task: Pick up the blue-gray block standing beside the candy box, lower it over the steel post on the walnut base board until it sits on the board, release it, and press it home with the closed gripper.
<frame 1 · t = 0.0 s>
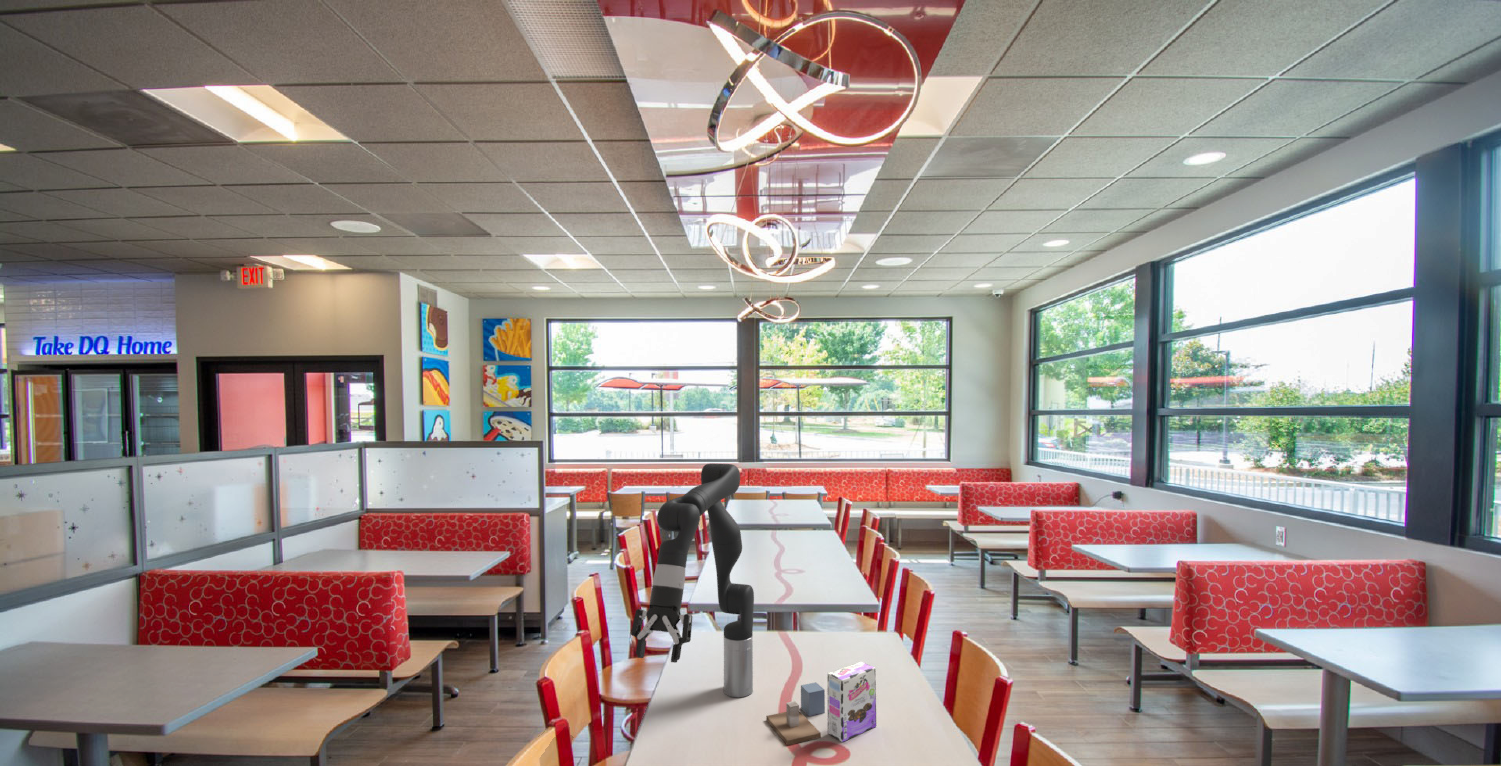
hand: (656, 660, 136), 31 cm above the table, tool tilted 20°, fingers open, 8 cm apart
post stand: (792, 728, 166), on the table
blue-gray block: (812, 710, 176), on the table
candy box: (852, 730, 165), on the table
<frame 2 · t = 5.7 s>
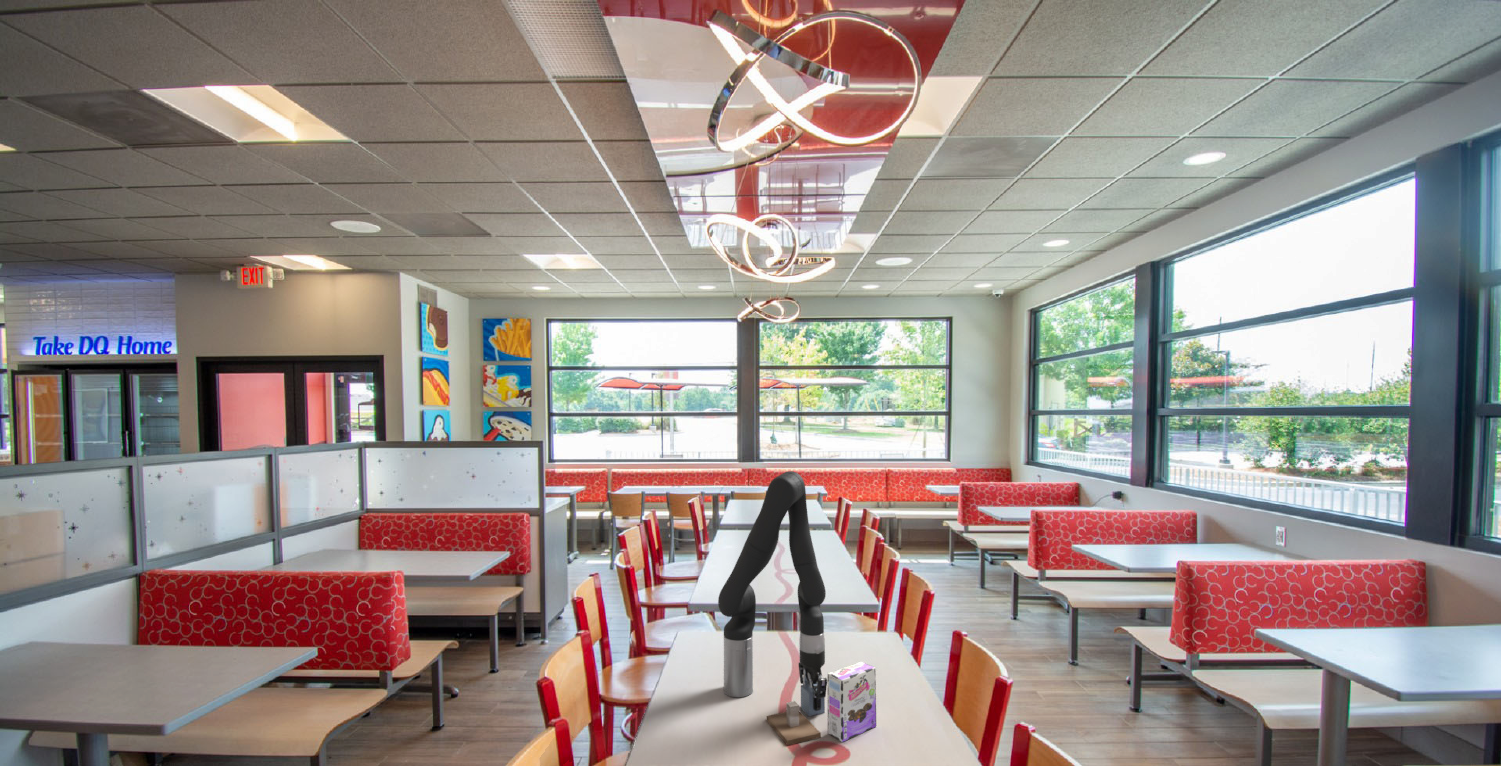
hand: (812, 705, 176), 1 cm above the table, tool pointing down, fingers closed on blue-gray block, 5 cm apart
blue-gray block: (812, 710, 176), on the table, touching gripper
everything else where it was.
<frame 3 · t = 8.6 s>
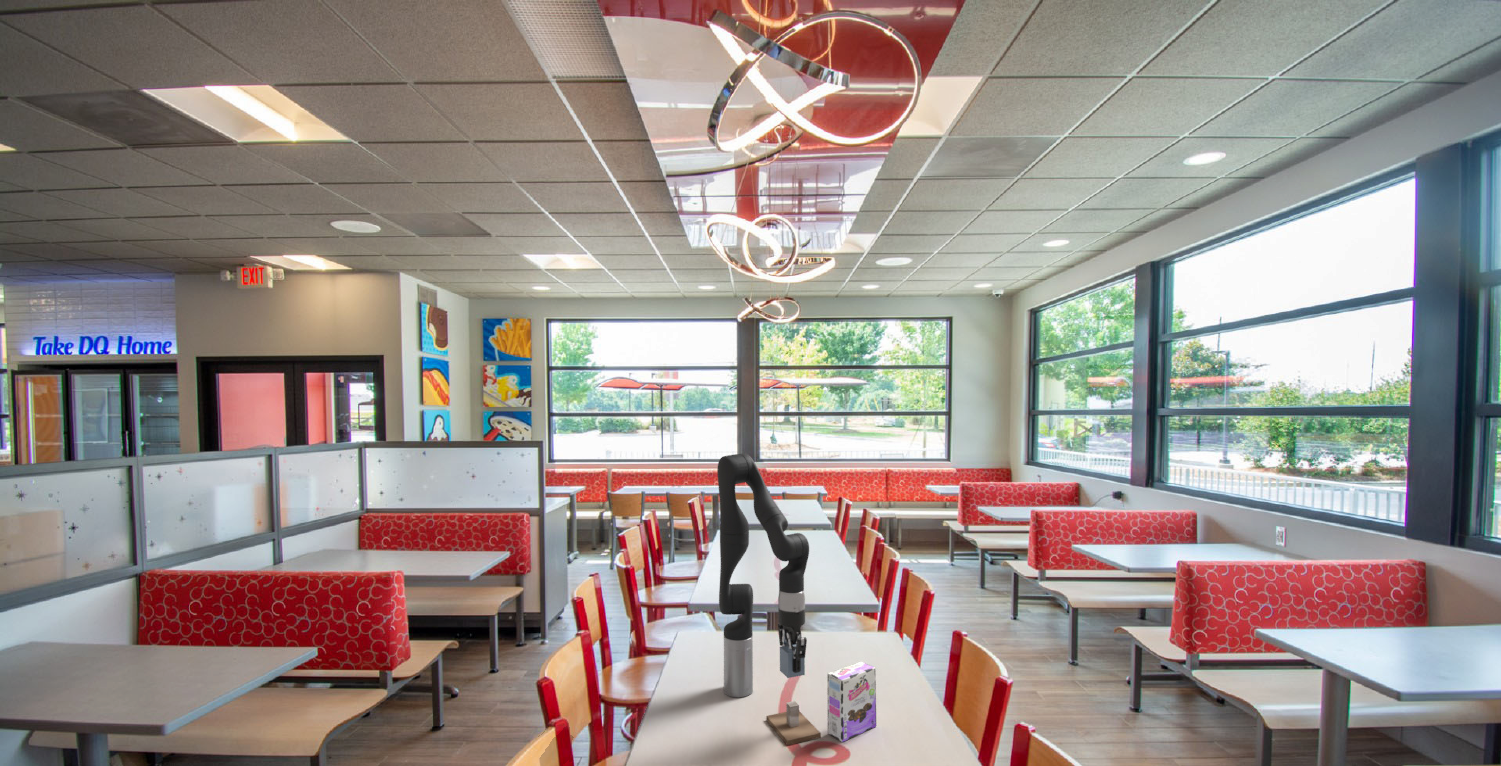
hand: (792, 667, 166), 17 cm above the table, tool pointing down, fingers closed on blue-gray block, 5 cm apart
blue-gray block: (792, 672, 166), point 15 cm above the table, touching gripper
everything else where it was.
when the fingers open (3 cm above the table, at t = 11.6 s): blue-gray block stays where it is, resting on post stand.
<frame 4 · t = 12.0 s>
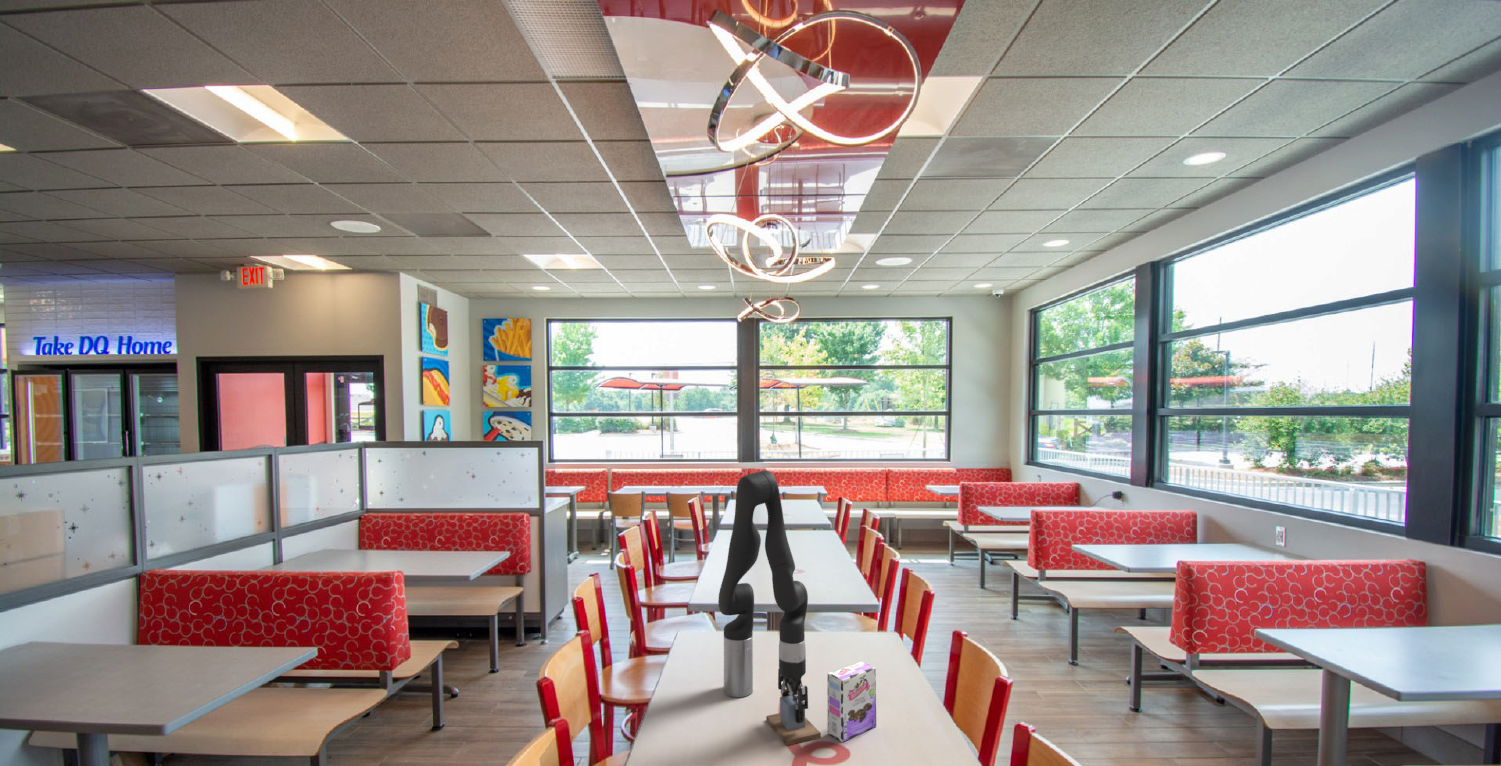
hand: (792, 714, 166), 4 cm above the table, tool pointing down, fingers open, 8 cm apart
blue-gray block: (792, 723, 166), point 1 cm above the table, touching post stand
everything else where it was.
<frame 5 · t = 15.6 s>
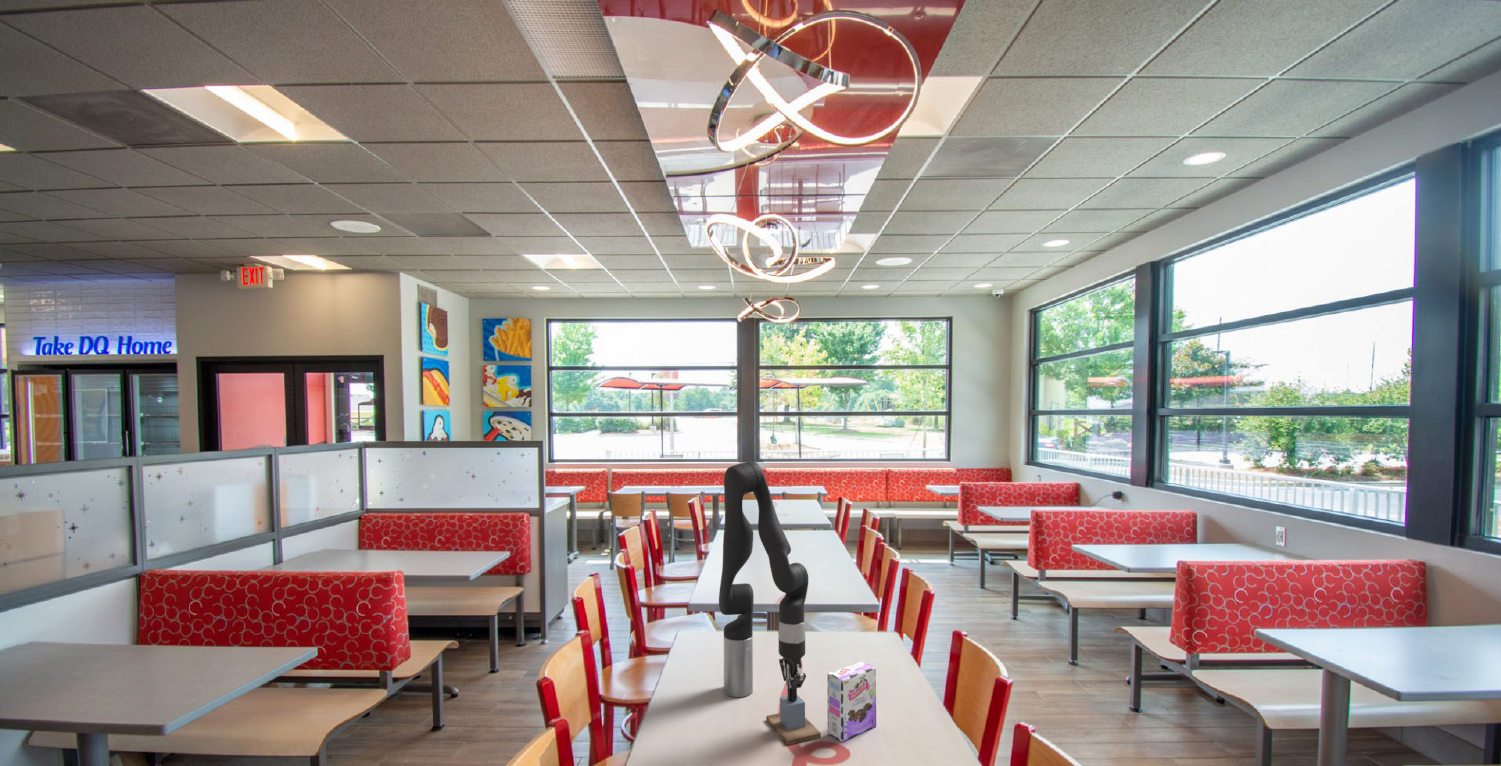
hand: (792, 700, 166), 8 cm above the table, tool pointing down, fingers closed
blue-gray block: (792, 724, 166), point 1 cm above the table, touching gripper, post stand
everything else where it was.
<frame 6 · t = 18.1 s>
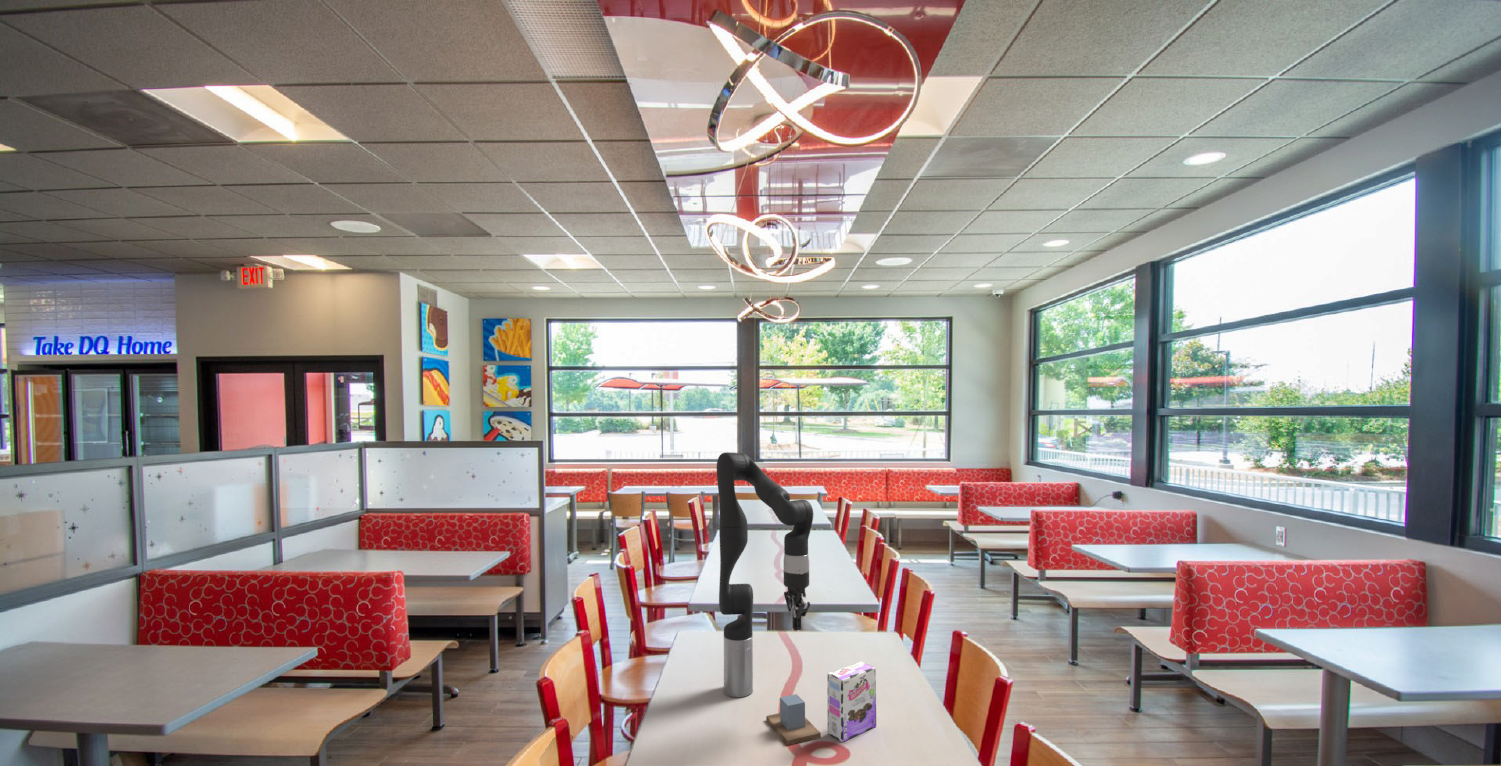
hand: (796, 629, 173), 25 cm above the table, tool pointing down, fingers closed
blue-gray block: (792, 723, 166), point 1 cm above the table, touching post stand
everything else where it was.
at the end: blue-gray block 0.1 cm from the post stand (horizontally); blue-gray block point 1.2 cm above the table; blue-gray block tilted 0° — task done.
